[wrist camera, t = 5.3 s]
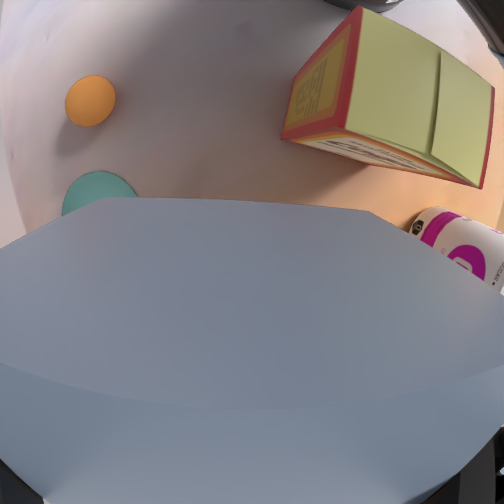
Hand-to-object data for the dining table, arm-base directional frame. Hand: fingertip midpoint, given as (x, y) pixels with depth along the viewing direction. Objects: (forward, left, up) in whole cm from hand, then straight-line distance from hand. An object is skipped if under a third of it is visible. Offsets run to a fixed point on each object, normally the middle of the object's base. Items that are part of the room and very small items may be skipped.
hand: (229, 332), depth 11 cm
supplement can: (0, +23, -18) cm, 29 cm away
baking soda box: (-11, +9, -18) cm, 23 cm away
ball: (-12, -14, -15) cm, 24 cm away
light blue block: (0, 0, -1) cm, 1 cm away
